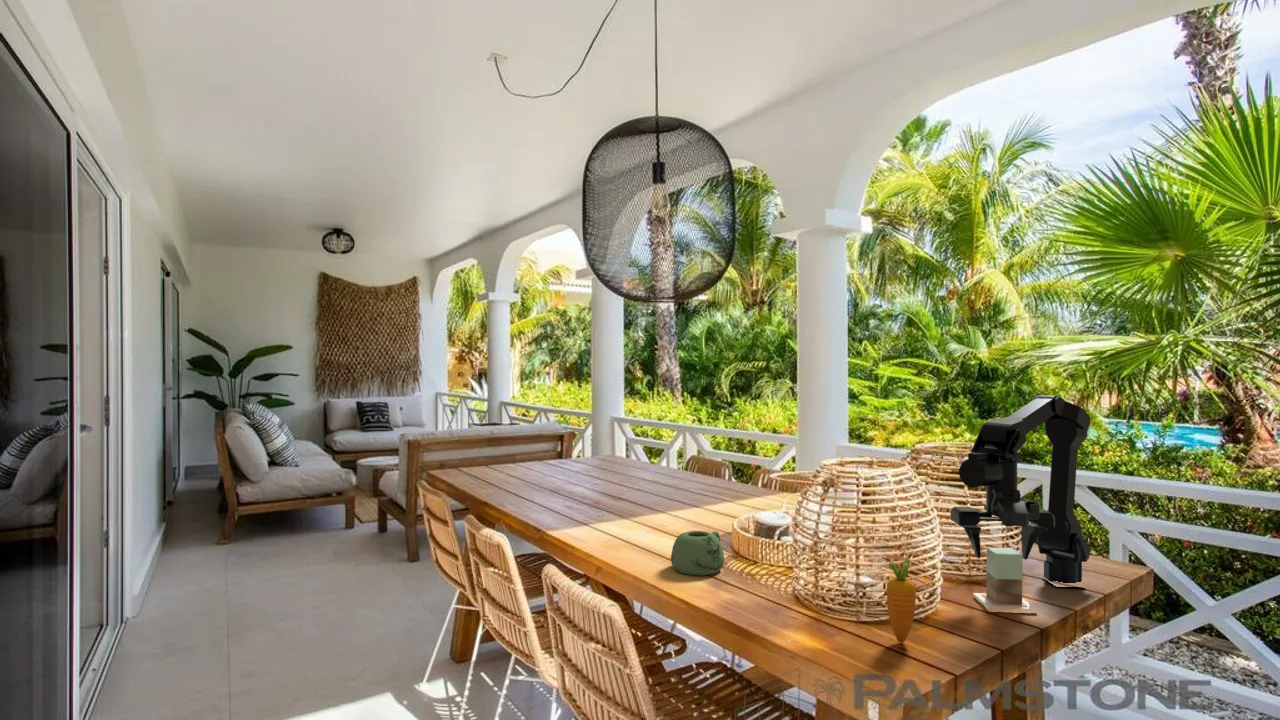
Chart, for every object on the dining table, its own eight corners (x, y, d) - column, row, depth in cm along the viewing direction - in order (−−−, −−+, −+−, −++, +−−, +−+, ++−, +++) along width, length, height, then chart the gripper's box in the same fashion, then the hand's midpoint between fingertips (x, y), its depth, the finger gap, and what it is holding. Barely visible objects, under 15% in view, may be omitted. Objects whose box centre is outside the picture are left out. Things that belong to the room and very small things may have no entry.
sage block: (1011, 572, 148) (1012, 548, 148) (1022, 579, 143) (1022, 554, 143) (986, 571, 148) (986, 547, 148) (996, 578, 143) (996, 554, 143)
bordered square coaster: (1017, 599, 150) (1017, 593, 150) (1037, 614, 141) (1037, 608, 141) (973, 597, 150) (973, 592, 150) (989, 612, 141) (989, 606, 141)
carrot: (889, 648, 124) (889, 562, 124) (884, 637, 129) (884, 554, 129) (919, 650, 123) (919, 563, 123) (912, 638, 128) (913, 555, 128)
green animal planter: (704, 581, 161) (704, 543, 161) (659, 570, 170) (659, 534, 170) (741, 565, 174) (741, 530, 174) (697, 556, 182) (697, 522, 182)
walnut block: (1011, 596, 148) (1011, 572, 148) (1022, 604, 143) (1022, 579, 143) (986, 595, 148) (986, 571, 148) (996, 603, 143) (996, 578, 143)
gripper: (968, 489, 140) (968, 568, 140) (1068, 490, 138) (1068, 571, 138) (949, 479, 151) (949, 553, 151) (1042, 481, 149) (1042, 555, 149)
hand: (1001, 558), depth 147 cm, fingers open, 9 cm apart
